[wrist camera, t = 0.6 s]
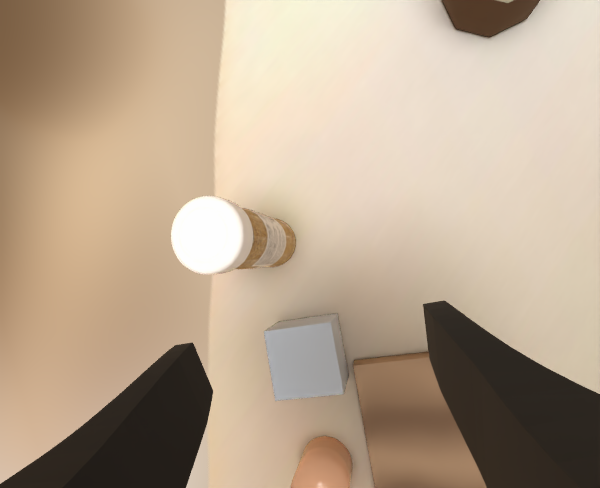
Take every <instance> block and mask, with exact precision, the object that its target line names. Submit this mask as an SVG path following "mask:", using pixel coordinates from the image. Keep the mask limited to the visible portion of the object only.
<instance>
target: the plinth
mask: <svg viewBox="0 0 600 488" xmlns="http://www.w3.org/2000/svg"><path fill="white" fill-rule="evenodd" d="M353 368H354V373H355V379H356V384H357V390H358V396H359V401H360V407H361V412H362V418H363V423H364V429H365V434H366V440H367V446H368V451H369V457H370V462H371V468H372V473H373V479H374V484H375V488H487V487H486V485H485V482H484V480H483V478H482V476H481V473H480V471H479V469H478V467H477V465H476V463H475V460H474V458H473V456H472V454H471V452H470V450H469V448H468V446H467V444H466V442H465V440H464V438H463V436H462V434H461V432H460V430H459V428H458V426H457V424H456V422H455V420H454V418H453V416H452V413H451V411H450V409H449V407H448V405H447V403H446V401H445V399H444V397H443V395H442V393H441V390H440V388H439V385H438V382H437V379H436V376H435V374H434V371H433V368H432V365H431V362H430V359H429V352H422V353H414V354H405V355H396V356H387V357H378V358H370V359H361V360H354V364H353Z"/></svg>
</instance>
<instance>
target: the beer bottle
mask: <svg viewBox="0 0 600 488" xmlns="http://www.w3.org/2000/svg"><path fill="white" fill-rule="evenodd" d="M442 1H443V3H444V5H445V7H446V9H447V11H448V13H449V15H450V17H451V19H452V21H453V23H454V25H455V27H456V29H459V30H463V31H467V32H471V33H475V34H479V35H483V36H487V37H490V36H493V35H495V34H497V33H499V32H501V31H503V30H505V29H507V28H509V27H511V26H513V25H515V24H517V23H519V22H521V21H523V20H525V19H527V18H528V16H529V15H530V14H531V12H532V11H533V10H534V8H535V7H536V5H537V4H538V2H539V1H540V0H442Z"/></svg>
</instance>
